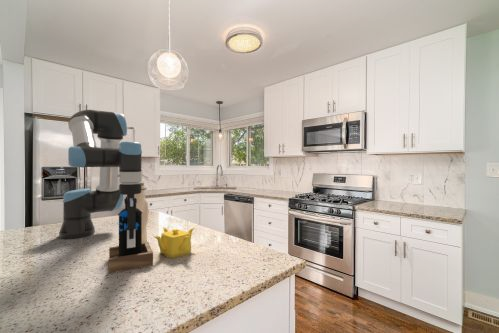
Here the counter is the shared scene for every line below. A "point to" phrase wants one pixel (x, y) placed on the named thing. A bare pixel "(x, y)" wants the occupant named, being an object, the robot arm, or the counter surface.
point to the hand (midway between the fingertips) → (130, 243)
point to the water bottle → (143, 210)
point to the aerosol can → (123, 234)
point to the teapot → (175, 242)
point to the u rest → (130, 259)
